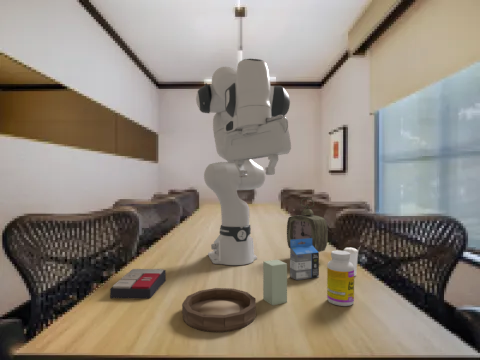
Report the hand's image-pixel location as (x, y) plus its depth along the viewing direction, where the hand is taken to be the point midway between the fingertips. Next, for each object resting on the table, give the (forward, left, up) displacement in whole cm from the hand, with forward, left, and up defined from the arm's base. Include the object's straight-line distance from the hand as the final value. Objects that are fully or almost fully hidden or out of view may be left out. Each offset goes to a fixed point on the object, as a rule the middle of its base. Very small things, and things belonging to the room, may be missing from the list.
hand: (256, 176), depth 74 cm
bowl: (0, -10, -33) cm, 34 cm away
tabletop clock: (-30, +40, -33) cm, 60 cm away
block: (-1, +6, -33) cm, 33 cm away
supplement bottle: (+7, +21, -33) cm, 40 cm away
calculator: (-26, -25, -33) cm, 49 cm away
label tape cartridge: (-13, +25, -33) cm, 43 cm away
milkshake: (-8, +41, -33) cm, 53 cm away
